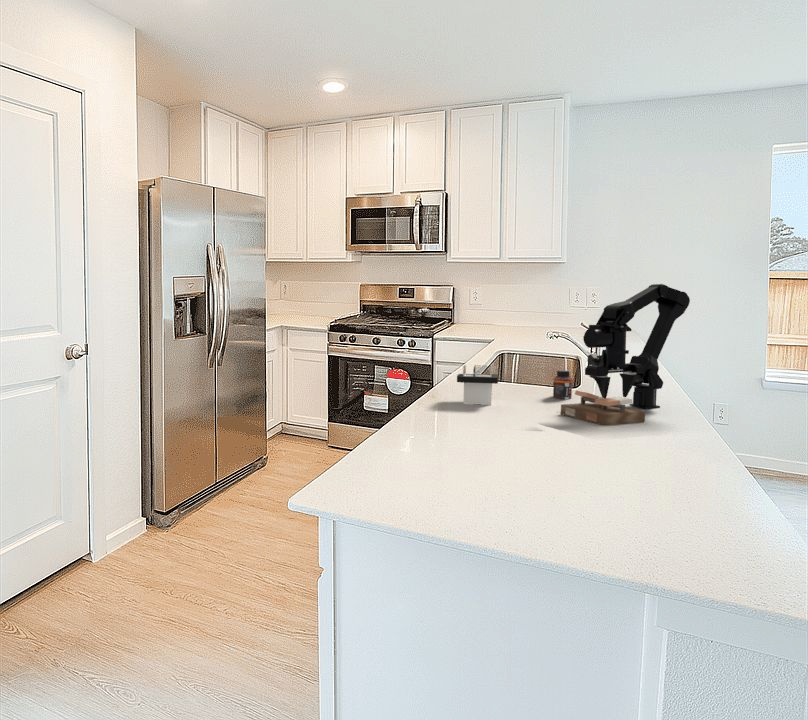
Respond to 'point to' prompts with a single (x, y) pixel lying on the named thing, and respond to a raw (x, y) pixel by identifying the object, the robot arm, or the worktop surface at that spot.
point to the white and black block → (477, 386)
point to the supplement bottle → (562, 385)
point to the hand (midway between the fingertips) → (614, 397)
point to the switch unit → (602, 413)
